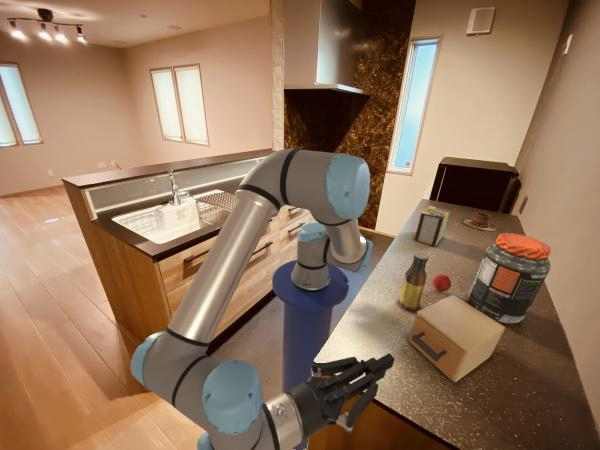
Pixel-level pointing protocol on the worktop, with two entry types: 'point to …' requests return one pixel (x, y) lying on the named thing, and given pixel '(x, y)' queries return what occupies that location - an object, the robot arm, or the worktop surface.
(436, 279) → the onion
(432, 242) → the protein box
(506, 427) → the worktop surface
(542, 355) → the worktop surface
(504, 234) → the supplement tub
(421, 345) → the drawer
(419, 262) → the sauce bottle
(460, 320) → the cabinet
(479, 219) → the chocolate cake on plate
